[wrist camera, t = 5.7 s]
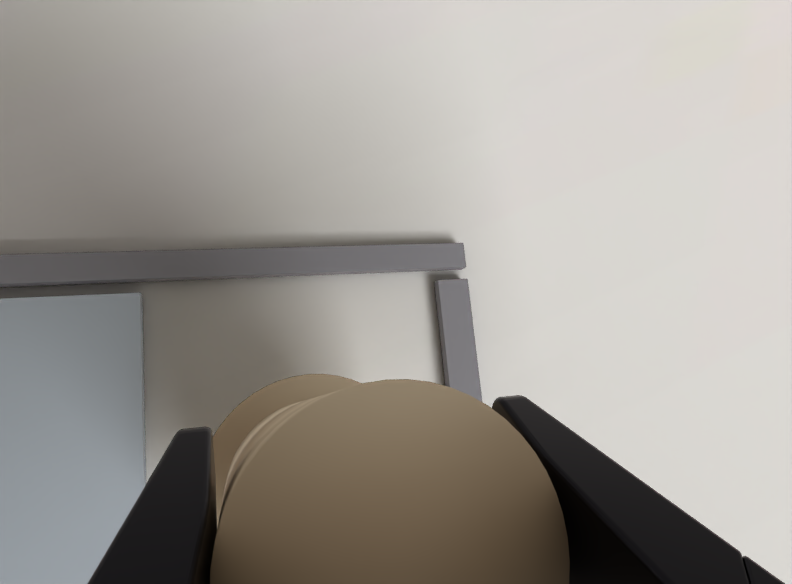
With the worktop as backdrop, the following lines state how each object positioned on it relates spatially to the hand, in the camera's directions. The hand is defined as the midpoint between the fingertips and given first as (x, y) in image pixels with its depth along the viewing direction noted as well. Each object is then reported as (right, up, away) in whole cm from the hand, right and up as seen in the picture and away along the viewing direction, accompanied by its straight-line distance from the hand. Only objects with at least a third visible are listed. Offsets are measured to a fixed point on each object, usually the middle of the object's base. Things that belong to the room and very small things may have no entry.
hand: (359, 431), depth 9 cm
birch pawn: (-2, -3, +6) cm, 7 cm away
